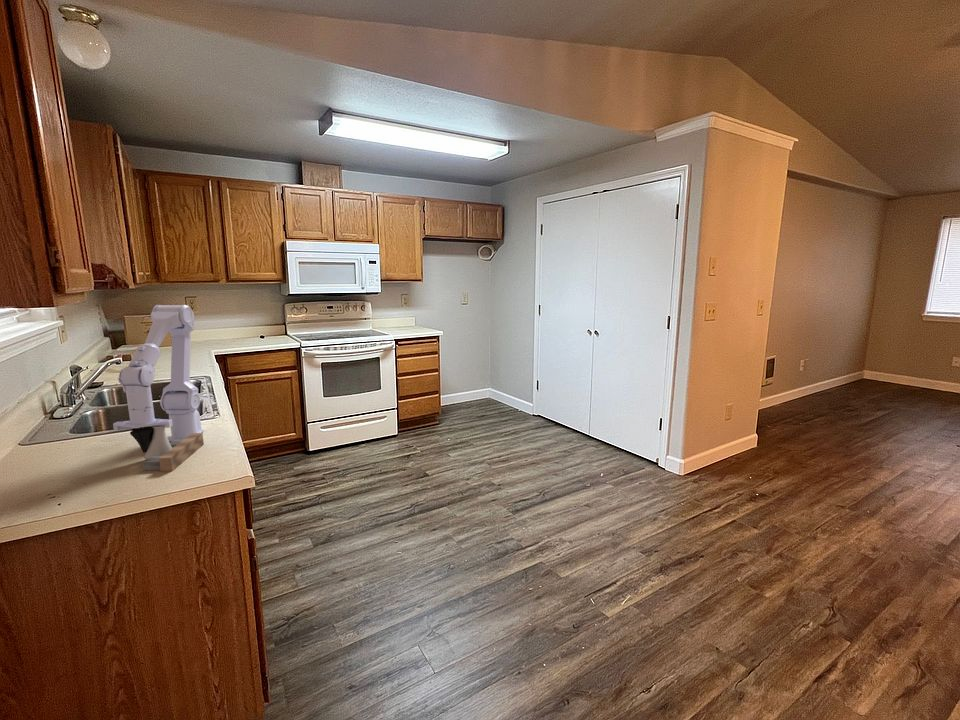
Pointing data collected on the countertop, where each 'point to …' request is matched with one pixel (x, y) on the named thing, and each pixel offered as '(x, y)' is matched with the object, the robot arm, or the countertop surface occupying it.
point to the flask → (158, 443)
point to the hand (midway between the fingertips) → (147, 451)
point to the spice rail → (175, 454)
